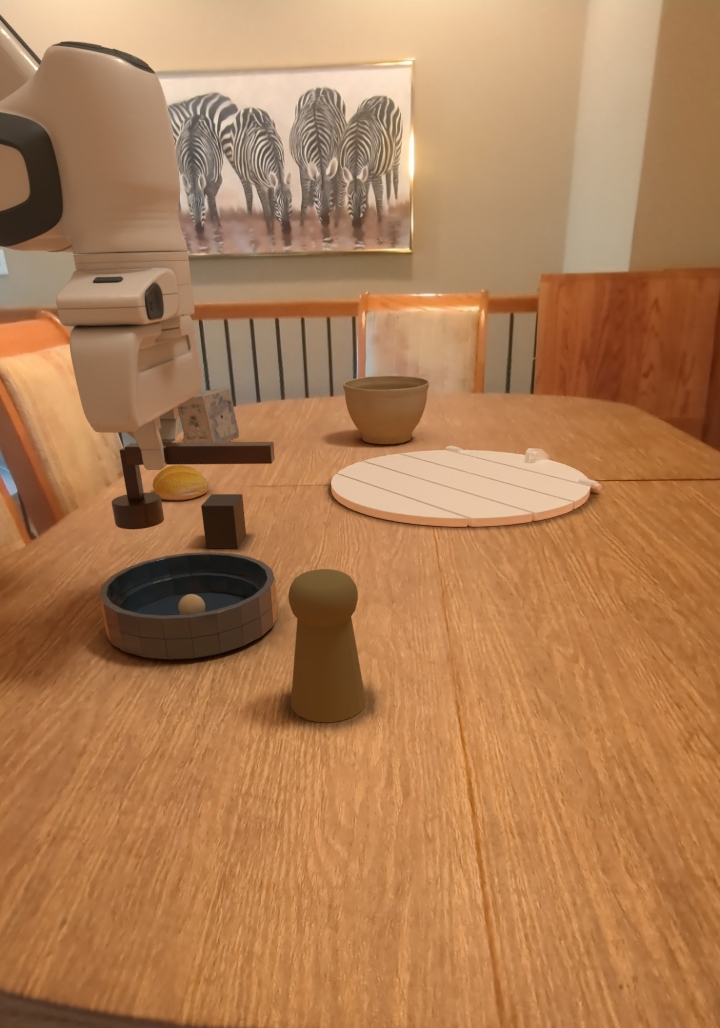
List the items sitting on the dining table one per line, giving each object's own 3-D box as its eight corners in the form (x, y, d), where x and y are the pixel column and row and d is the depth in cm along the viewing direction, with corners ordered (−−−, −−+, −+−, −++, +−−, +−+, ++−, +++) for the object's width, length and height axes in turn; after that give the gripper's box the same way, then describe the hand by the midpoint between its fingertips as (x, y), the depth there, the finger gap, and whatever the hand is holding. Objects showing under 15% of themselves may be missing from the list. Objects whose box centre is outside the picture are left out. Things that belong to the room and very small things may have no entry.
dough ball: (176, 625, 73) (173, 600, 72) (184, 613, 75) (180, 589, 74) (202, 625, 73) (199, 600, 72) (209, 614, 75) (206, 590, 74)
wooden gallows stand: (108, 529, 68) (93, 450, 65) (125, 515, 72) (112, 439, 69) (273, 529, 67) (267, 449, 64) (282, 514, 71) (276, 438, 68)
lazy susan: (466, 445, 141) (467, 426, 140) (648, 488, 113) (652, 466, 111) (283, 483, 120) (282, 461, 119) (449, 547, 92) (450, 520, 90)
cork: (276, 700, 61) (265, 574, 56) (334, 675, 65) (329, 554, 60) (321, 731, 57) (314, 598, 52) (381, 703, 60) (379, 575, 55)
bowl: (79, 662, 68) (69, 617, 66) (141, 590, 82) (135, 551, 80) (259, 666, 66) (254, 620, 64) (289, 591, 81) (286, 552, 79)
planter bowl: (328, 440, 147) (325, 382, 143) (387, 428, 157) (387, 373, 152) (385, 453, 137) (384, 391, 132) (445, 439, 146) (446, 380, 141)
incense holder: (204, 440, 151) (198, 385, 146) (241, 442, 148) (236, 387, 143) (177, 450, 143) (169, 393, 138) (215, 453, 140) (208, 395, 135)
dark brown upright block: (206, 548, 94) (200, 505, 91) (216, 535, 98) (211, 494, 96) (237, 548, 94) (233, 505, 91) (246, 535, 98) (242, 494, 95)
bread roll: (159, 504, 111) (155, 478, 110) (151, 489, 119) (147, 464, 117) (214, 497, 114) (211, 471, 112) (204, 483, 121) (201, 458, 120)
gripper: (142, 289, 71) (163, 439, 77) (43, 301, 52) (82, 495, 59) (208, 288, 70) (224, 438, 76) (131, 298, 52) (161, 495, 58)
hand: (162, 464), depth 67 cm, fingers closed on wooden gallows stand, 2 cm apart
